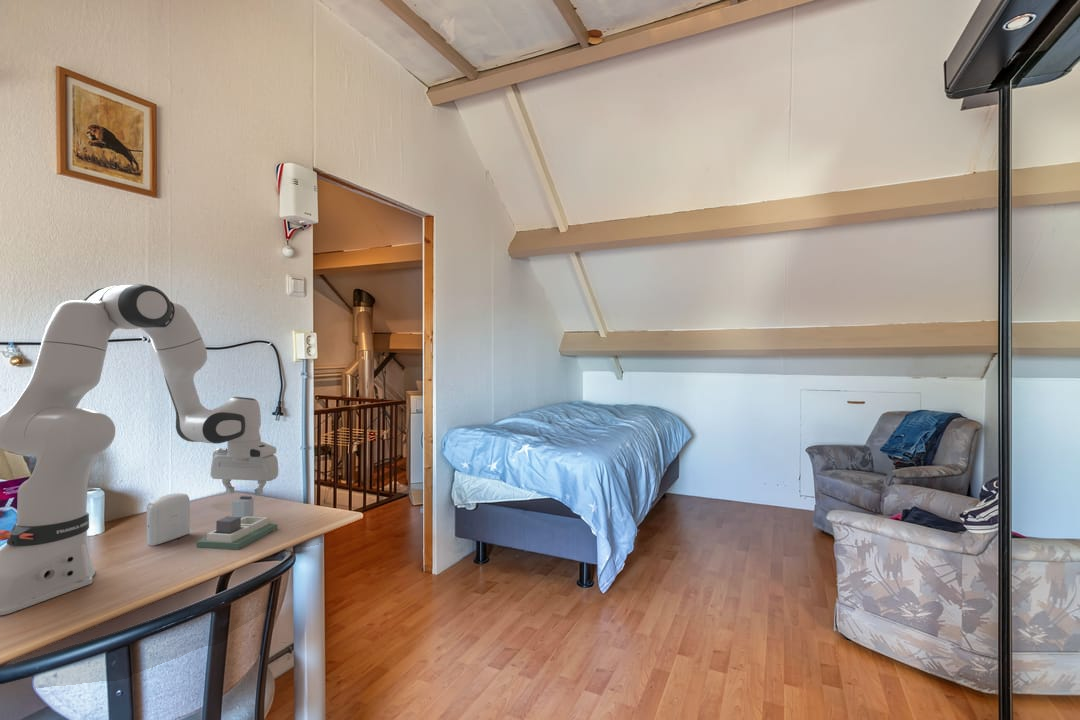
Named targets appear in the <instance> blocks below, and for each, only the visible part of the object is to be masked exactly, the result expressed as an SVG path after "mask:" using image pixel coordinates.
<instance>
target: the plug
mask: <svg viewBox="0 0 1080 720" xmlns="http://www.w3.org/2000/svg"><path fill="white" fill-rule="evenodd" d="M254 502H255V499H254V497H253V496H251V495H249V496H247V495H242V496H240V497H239V498H237V499H235V500H232V505H231V506H232V507H231V508H232V510H231V513H232V514H231V517H241V518H243V517H246V516H252V517H254V512H255V511H254V507H255V505H254V504H255V503H254Z"/></svg>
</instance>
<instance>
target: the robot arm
mask: <svg viewBox="0 0 1080 720" xmlns="http://www.w3.org/2000/svg"><path fill="white" fill-rule="evenodd" d="M118 329H119V330H137V329H141V330H142V331H144V332H145V334H146V335H147V336H148V338H149V339H150V343H151V345H152V347H153V349H154V351H155V354H156V356H157V358H158V361H159V364H160V366H161V368H162V373H163V376H164V381H165V383H166V387H167V390H168V393H169V395H170V399H171V401H172V404H173V408H174V410H175V411H174V412H175V430H176V433H177V434H178V436H179V437H180V438H181V439H182V440H184V441H187V442H192V443H194V442H195V443H205V444H213V445H215V444H216V445H218V444H222V443H227V445H226V446H227V447H226V448H221V447H220V448H216V449H215V450H214V451H213V452H212V460H211V466H210V477H211V478H212V479H213V480H222V481H221V483H222V484H223V486H224V488H225V494H229V495H230V494H234V493H235V486H233V485H232V483H231V482H232V480H233V481H235V480H236V481H255V482H257V485H258V487H257V488H255V489H254V495H255V496H257V495H258V496H259V495H263V493H264V487H265V485H266V484H267V482H271V481H273V480H276V479H277V477H278V476H279V462H278V461H279V460H278V458H277V457H278V456H276V453H277V447H276V446H274V445H271V444H269V443H266V442H264V441H262V439H261V437H262V436H261V433H260V429H261V425H262V423H261V422H262V419H261V417H262V416H261V407H260V404H259V402H258V400H257V399H255V398H253V397H242V396H233V397H230V398H229V400H227V401H226V402H225V403H224V404H222V405H220V406H218V407H216V408H212V409H208V408H206V407H205V406H204V405H203V404H202V403H201V400H200V398H199V394H198V391H197V389H196V385H195V382H194V381H195V380H194V377H195V374H196V373H197V372H198V371H200V370H201V369H202V368H203V367H204V365H205V364H206V362H207V360H208V353H207V348H206V344H205V342H204V340H203V337H202V335H201V333H200V330H199V329H198V326H197V325H196V323H195V321H194V319H193V317H192V316H191V314H190V313H189V312H188V310H187V309H186V308H185V307H184V306H183V305H182V304H179V303H175V302H172V300H171V299H169V297H168V296H167V295H166V294H165V293H164V292H163V290H161V289H159V288H157V287H155V286H152V285H148V284H144V283H143V284H141V283H137V284H117V285H113V286H109V287H102V288H98V289H95V290H94V291H92V292H91V293H88V294H87V296H86V297H85V298H84V299H83V300H81V299H80V300H79V299H77V300H75V299H74V300H73V299H72V300H67V301H63V302H62V303H60V304H59V305H57V307H56V308H55V310H54V311H53V313H52V315H51V317H50V319H49V321H48V323H47V325H46V327H45V330H44V334H43V336H42V340H41V343H40V348H39V352H38V355H37V360H36V362H35V365H34V369H33V372H32V374H31V377H30V379H29V382H28V383H27V385H26V386H25V388H24V390H23V391H22V393H21V394H20V396H18V399H17V400H16V401H15V403H14V404H12V406H11V407H10V408H9V409H8V410H7V411H5V412H4V413H1V414H0V449H1V450H4V451H7V452H10V453H12V454H16V455H19V456H32V457H36V461H35V466H34V469H33V470H32V473H31V475H29V478H28V479H26V480H25V481H24V482H22V483H21V484H20V485H19V487H18V489H17V510H16V523H15V524H14V525H13V527H12V529H11V531H10V530H6V529H5V530H3V529H0V541H6V545H4V547H2V548H1V549H0V616H4V615H5V616H6V615H8V614H12V613H14V612H18V611H20V610H23V609H25V608H28V607H31V606H33V605H37V604H39V603H42V602H44V601H47V600H50V599H53V598H55V597H58V596H61V595H63V594H66V593H69V592H72V591H75V590H77V589H79V588H83V587H86V586H88V585H91V584H93V582H94V579H93V577H94V575H95V574H96V570H95V568H94V565H93V562H92V559H91V554H90V547H89V543H88V542H89V541H88V530H89V528H90V513H89V512H88V511H87V508H88V507H87V505H88V486H89V485H88V484H89V478H90V475H91V472H92V469H93V467H94V466H95V465H94V464H95V463H96V461H97V459H98V457H99V456H100V455H101V454H103V452H105V451H106V450H107V449H108V448H109V447H110V446H111V445H112V443H113V442H114V439H115V437H116V426H115V423H114V421H113V420H112V418H111V417H109V416H108V415H107V414H104V413H101V412H99V411H96V410H91V409H89V408H83V407H82V408H80V407H79V408H78V406H79V404H80V402H81V401H82V399H83V398H84V397H85V395H86V394H88V393H89V392H90V391H92V390H93V389H95V388H96V387H97V386H98V384H99V383H100V380H101V376H102V372H103V368H104V364H105V360H106V359H105V358H106V355H107V350H108V344H109V339H110V337H111V335H112V334H113V332H114V331H115V330H118Z"/></svg>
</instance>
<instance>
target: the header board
mask: <svg viewBox="0 0 1080 720" xmlns="http://www.w3.org/2000/svg"><path fill="white" fill-rule="evenodd" d="M215 525H216V526H215V527H216V529H214V530H212V531H209V532H208V533H206V536H205V537H204V538H201V539H198V540H197V541H196V548H203V549H204V548H205V549H222V550H223V549H224V550H236V551H237V550H241V549H242V548H244V547H246V546H248V545H250V544H252V543H253V542H256V541H257V540H260V539H261V538H263V537H265V536H267V535H269V534H270V533H269V532H271V531H272V532H274V531H275V530H274V529H276V528H277V529H278V524H277V523H269V517H267V516H266V517H265V516H253V517H252V516H246V517H243V518H241V517H232V516H228V515H227V516H225V517H223V518H219V519H218V520H216V524H215ZM277 529H276V530H277ZM273 530H274V531H273ZM272 532H271V533H272ZM268 533H269V534H268ZM266 534H267V535H266Z"/></svg>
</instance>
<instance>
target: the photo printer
mask: <svg viewBox="0 0 1080 720" xmlns="http://www.w3.org/2000/svg"><path fill="white" fill-rule="evenodd" d="M190 501H191V500H190V497H189V495H188V494H187V493H183V492H182V493H181V492H180V493H178V492H177V493H169V494H165V495H162V496H159V497H158V498H155V499H154V500H152V501H150V502H149V503H148V504H147V506H146V544H147V546H149V547H150V546H151V547H153V546H158V545H162V544H163V543H166V542H169V541H172V540H175V539H178V538H181V537H184V536H186V535H189V533H190V523H191V522H190V513H191V511H190V510H191V509H190V508H191V507H190V503H191V502H190Z"/></svg>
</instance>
